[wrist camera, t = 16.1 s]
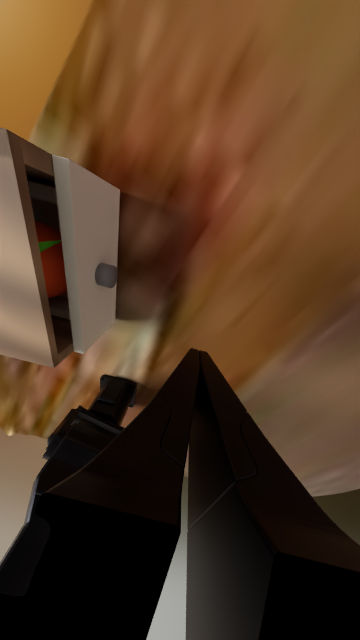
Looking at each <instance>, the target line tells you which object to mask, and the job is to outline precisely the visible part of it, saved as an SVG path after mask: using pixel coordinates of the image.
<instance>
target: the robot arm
mask: <svg viewBox="0 0 360 640" xmlns="http://www.w3.org/2000/svg"><path fill="white" fill-rule="evenodd" d="M136 389H137V384H136V383H133V382H129V381H125V380H121V379H117V378H113V377H109V376H105V375H102V376H101V377H100V392H99V393H98V395H97V396H96V398H95V399H94V401H93V402H92V404H91V405H90V407H89V408H88V410H87V409H85V408H83V407H82V406H79V407H78V408H77V409H71V411H70V412H69V413H68V415H67V416H66V417H65V419H64V420H63V421H62V422H61V423H60V425H59V426H58V427H57V428H56V429H55V431H54V432H53V433H52V434H51V435H50V437H49V438H48V447H47V448H46V450H47V451H46V452H45V454H44V455H43V457H42V458H44V459H47V460H48V461H47V462H46V464H45V465H44V467H43V468H42V469H41V471H40V473H39V474H38V476H37V478H36V479H35V481H34V484H33V487H32V492H31V496H30V501H29V505H28V510H27V514H26V518H25V522H24V525H23V527H22V528H21V530H20V531H19V533H18V535H17V536H16V538H15V539H14V541H13V543H12V544H11V546H10V547H9V549H8V551H7V552H6V554H5V556H4V557H3V559H2V560H1V562H0V640H146V638H147V635H148V632H149V629H150V625H151V622H152V619H153V616H154V613H155V610H156V607H157V604H158V601H159V598H160V595H161V592H162V589H163V585H164V582H165V579H166V576H167V573H168V570H169V567H170V564H171V561H172V558H173V554H174V552H175V549H176V545H177V542H178V539H179V536H180V532H181V494H182V483H183V476H184V468H185V463H186V457H187V450H188V444H189V467H188V533H187V593H186V640H360V545H359V544H358V543H356V542H355V541H354V540H353V539H351V538H350V537H349V536H348V535H347V534H346V533H345V532H344V531H342V530H341V529H340V528H339V527H338V526H337V525H336V524H335V523H334V522H333V521H332V520H331V519H330V518H329V516H328V515H327V514H326V513H325V512H324V511H323V510H322V509H321V507H320V506H319V505H318V504H317V502H316V501H315V500H314V499H313V497H312V496H311V495H310V494H309V492H308V491H307V490H306V489H305V487H304V486H303V485H302V483H301V482H300V481H299V480H298V478H297V477H296V476H295V475H294V473H293V472H292V471H291V470H290V468H289V467H288V466H287V464H286V463H285V462H284V461H283V459H282V458H281V457H280V456H279V454H278V453H277V452H276V450H275V449H274V448H273V446H272V445H271V444H270V442H269V441H268V440H267V439H266V437H265V436H264V435H263V433H262V432H261V430H260V429H259V427H258V426H257V425H256V423H255V422H254V420H253V419H252V417H251V416H250V414H249V413H248V412H247V410H246V409H245V407H244V406H243V404H242V403H241V401H240V400H239V398H238V397H237V395H236V394H235V392H234V391H233V390H232V388H231V387H230V385H229V384H228V382H227V381H226V379H225V378H224V376H223V375H222V373H221V372H220V370H219V369H218V367H217V366H216V365H215V363H214V362H213V360H212V359H211V357H210V356H209V354H208V353H207V352H205V351H201V350H200V351H199V350H197V349H193V348H191V349H190V350H189V351H188V352H187V354H186V355H185V356H184V358H183V359H182V360H181V362H180V363H179V364H178V366H177V367H176V368H175V370H174V371H173V372H172V374H171V375H170V376H169V378H168V379H167V380H166V382H165V383H164V384H163V386H162V387H161V388H160V390H159V391H158V392H157V393H156V395H155V396H154V397H153V398H152V400H151V401H150V402H149V403H148V405H147V406H146V407H145V408H144V409H143V410H142V411H141V412H140V413H139V414H138V415H137V417H136V418H135V419H134V420H133V421H132V422H131V423H130V424H129V425H128V426H127V427H126V428H123V427H121V423H122V421H123V419H124V416H125V414H126V412H127V409H128V407H133V406H134V403H135V396H136ZM246 412H247V413H246Z"/></svg>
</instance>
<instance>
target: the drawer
mask: <svg viewBox="0 0 360 640" xmlns="http://www.w3.org/2000/svg"><path fill="white" fill-rule="evenodd" d="M52 159H53V168H54V177H55V185H56V188H53V187H49V186H45V185H42V184H38V183H34V182H30V181H28V187H29V193H30V199H31V204H32V210H33V216H34V221H37V222H41V223H45V224H47V225H49V226H51V227H53V228H54V229H56V230H58V231H59V232H61V239H62V248H63V257H64V266H65V275H66V284H67V292H66V293H65V294H63V295H59V296H56V297H51V298H48V302H49V307H50V313H51V315H54V316H58V317H62V318H65V319H69V320H71V329H72V338H73V347H74V351H75V352H79V353H83V354H84V353H85V352H86V351H87V350H88V349H89V348H90V347H91V346H92V345H93V344H94V343H95V342H96V341H97V340H98V339H99V338H100V337H101V336H102V335H103V334H104V333H105V332H106V331H107V330H108V329H109V328H110V327H111V326H112V325H113V324H114V323H115V309H116V283H117V279H118V269H117V257H118V231H119V205H120V190H119V189H118V188H116V187H114V186H113V185H111V184H109V183H108V182H106V181H104V180H103V179H101V178H100V177H98V176H96V175H95V174H93V173H91V172H90V171H88V170H86V169H85V168H83V167H81V166H80V165H78V164H77V163H75V162H73V161H72V160H70V159H68V158H64V157H60V156H56V155H52Z"/></svg>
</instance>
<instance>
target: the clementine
mask: <svg viewBox="0 0 360 640" xmlns="http://www.w3.org/2000/svg"><path fill="white" fill-rule="evenodd" d="M34 222H35V227H36V233H37V239H38V244H39V250H40V256H41V262H42V267H43V273H44V279H45V285H46V290H47V296H48V298H51V297H56V296H59V295H63V294H65V293H66V292H67V284H66V275H65V266H64V257H63V248H62V239H61V232H59V231H58V230H56V229H54V228H53V227H51V226H49V225H47V224H45V223H41V222H37V221H34Z"/></svg>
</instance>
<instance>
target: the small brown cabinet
mask: <svg viewBox="0 0 360 640" xmlns="http://www.w3.org/2000/svg"><path fill="white" fill-rule="evenodd" d="M28 181H30V182H34V183H38V184H42V185H45V186H49V187H53V188H56V185H55V177H54V168H53V159H52V155H51V154H49V153H48V152H46V151H44V150H42V149H41V148H39V147H37V146H35V145H34V144H32V143H30V142H28V141H26V140H25V139H23V138H21V137H19V136H17V135H16V134H14V133H12V132H10V131H9V130H7V129H3V128H0V354H1V355H5V356H9V357H13V358H17V359H21V360H25V361H29V362H33V363H37V364H40V365H44V366H48V367H52V368H54V367H56V366H57V365H58V364H59V363H60V362H61V361H62V360H64V359H65V358H66V357H67V356H68V355H69V354H70V353H71V352H73V351H74V347H73V338H72V329H71V320H69V319H65V318H62V317H58V316H54V315H51V313H50V307H49V302H48V296H47V290H46V285H45V279H44V273H43V267H42V262H41V256H40V250H39V244H38V239H37V233H36V227H35V222H34V216H33V210H32V204H31V199H30V193H29V187H28Z"/></svg>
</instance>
